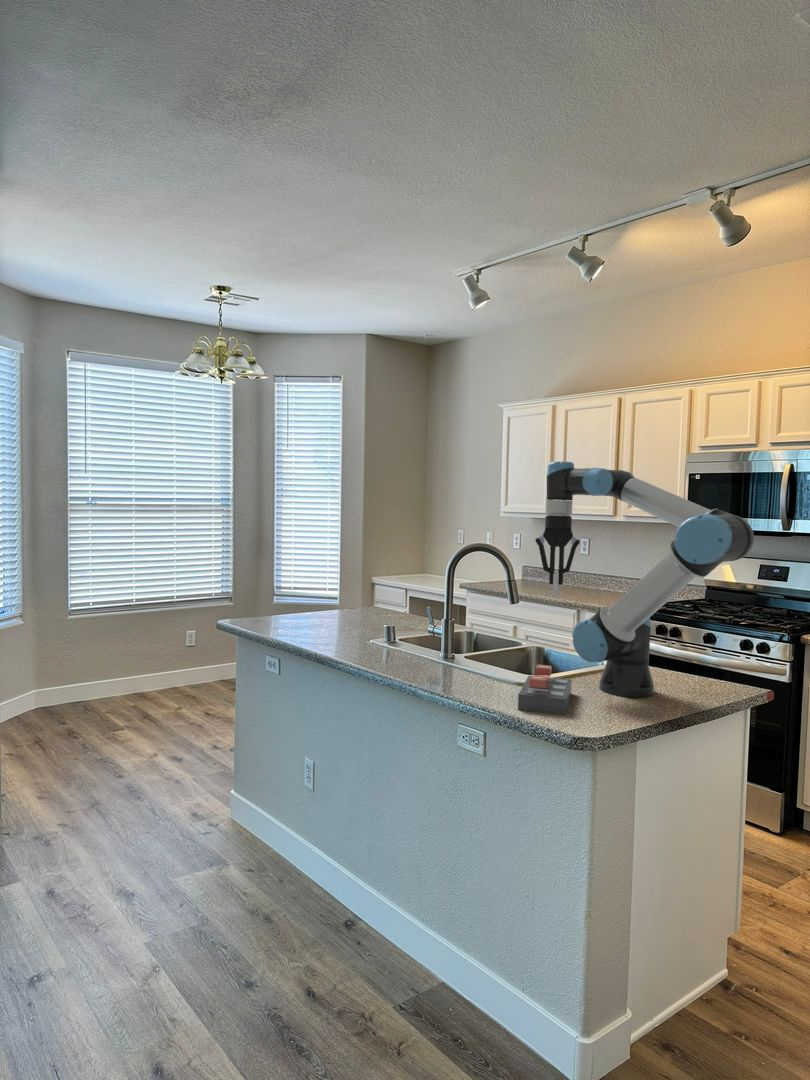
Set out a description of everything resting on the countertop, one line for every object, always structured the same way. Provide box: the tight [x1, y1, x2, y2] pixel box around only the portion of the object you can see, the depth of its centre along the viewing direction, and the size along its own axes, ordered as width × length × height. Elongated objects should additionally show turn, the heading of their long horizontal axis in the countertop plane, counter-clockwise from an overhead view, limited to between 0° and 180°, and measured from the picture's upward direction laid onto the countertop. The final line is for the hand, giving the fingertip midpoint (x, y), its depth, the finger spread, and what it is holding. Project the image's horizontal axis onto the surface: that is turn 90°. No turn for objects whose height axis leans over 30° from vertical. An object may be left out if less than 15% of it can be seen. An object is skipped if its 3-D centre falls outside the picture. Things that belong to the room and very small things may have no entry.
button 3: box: [529, 675, 548, 688], centre depth 195 cm, size 4×4×2 cm
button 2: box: [533, 674, 550, 687], centre depth 201 cm, size 4×4×2 cm
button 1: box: [534, 664, 553, 677], centre depth 208 cm, size 4×4×2 cm
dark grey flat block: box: [517, 675, 573, 715], centre depth 203 cm, size 12×25×4 cm, turn 164°
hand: (555, 595), depth 218 cm, fingers closed
